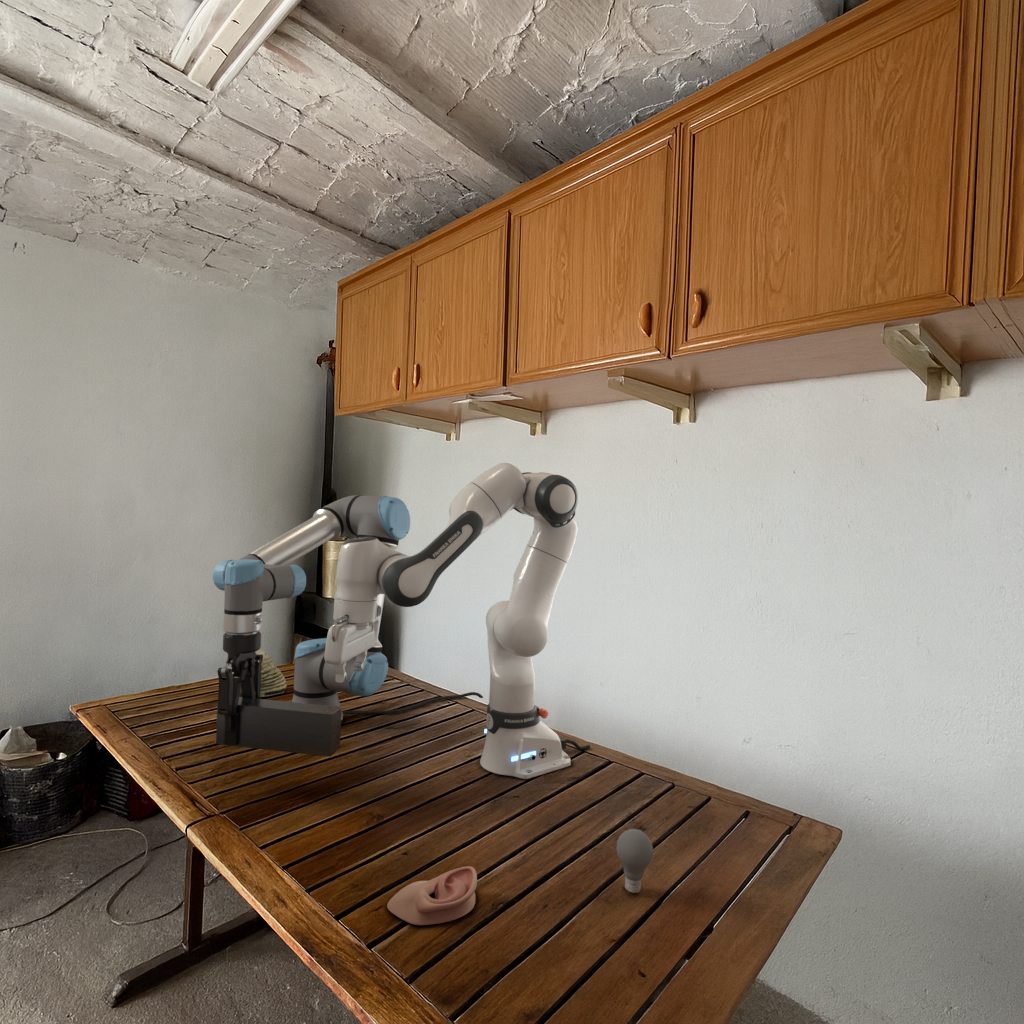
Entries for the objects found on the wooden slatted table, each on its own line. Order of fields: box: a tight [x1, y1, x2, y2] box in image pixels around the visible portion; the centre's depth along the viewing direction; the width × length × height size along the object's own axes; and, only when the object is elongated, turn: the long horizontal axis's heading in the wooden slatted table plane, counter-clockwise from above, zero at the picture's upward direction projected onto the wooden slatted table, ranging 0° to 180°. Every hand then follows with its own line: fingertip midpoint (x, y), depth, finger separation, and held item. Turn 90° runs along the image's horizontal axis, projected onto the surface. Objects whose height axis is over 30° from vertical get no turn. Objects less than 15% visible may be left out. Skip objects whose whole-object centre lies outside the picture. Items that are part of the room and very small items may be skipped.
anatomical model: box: [386, 865, 478, 926], centre depth 100 cm, size 13×4×12 cm
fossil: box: [236, 647, 288, 698], centre depth 198 cm, size 9×18×15 cm, turn 132°
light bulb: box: [615, 828, 654, 894], centre depth 106 cm, size 6×6×10 cm
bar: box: [215, 697, 343, 757], centre depth 135 cm, size 26×5×9 cm, turn 81°
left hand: (238, 739), depth 136 cm, fingers closed on bar, 5 cm apart
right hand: (349, 675), depth 136 cm, fingers open, 8 cm apart
